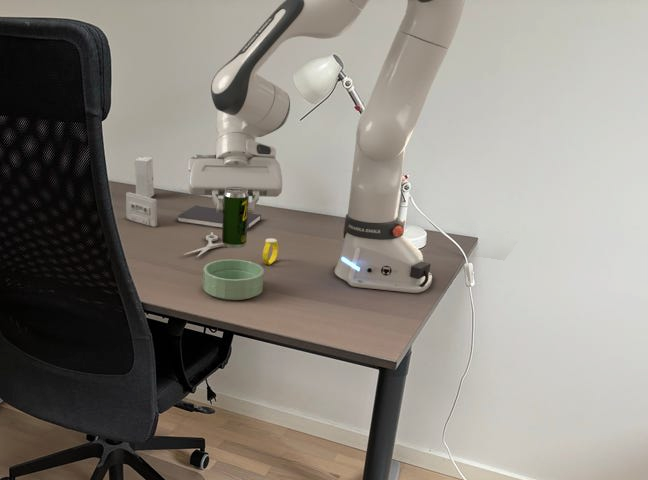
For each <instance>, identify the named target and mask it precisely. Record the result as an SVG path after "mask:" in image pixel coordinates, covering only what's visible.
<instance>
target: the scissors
mask: <svg viewBox="0 0 648 480" xmlns="http://www.w3.org/2000/svg"><path fill="white" fill-rule="evenodd" d="M218 239H219V238H218V235H216V234H214V232H210V234H207V235H205V240H206V241H207V245H205V246H203V247H200V248H197V249H194V250H191V251H189V252H186V253H184V254H182V255H183V256H185V255H188V254H193V253H196V252H199V251H200V253H198V255H197V256H196V258H198V257H200V256H201V255H202V254H204V253H206V252H207V251H209V250H212V249H215V248H219V247H225V246H224V245H223V242H222V243H221V242H220V243H213V242H215V241H216V242H217V241H218Z"/></svg>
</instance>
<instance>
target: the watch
mask: <svg viewBox="0 0 648 480" xmlns="http://www.w3.org/2000/svg"><path fill="white" fill-rule="evenodd" d="M264 243H265V245H264V246H263V251H262V262H263V263H264V264H265V265H267V266H271V264H273V263H274V262H276V260H277V258H278V253H279V243H278V240H277V239H276V238H272V237H271V238H270V237H269V238H266V239H265V241H264ZM271 247H272V252H271V256H270V258H269V253H270V249H271Z"/></svg>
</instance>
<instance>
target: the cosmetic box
mask: <svg viewBox="0 0 648 480" xmlns="http://www.w3.org/2000/svg"><path fill="white" fill-rule="evenodd" d="M153 159H154V158H153V157H151V156H139V157H137V158H136V159H134V177H135V194H138V195H141V196H145V197H149V198H152V197H154V195H155V189H154V188H155V187H154V186H155V185H154V162H153V161H154V160H153Z"/></svg>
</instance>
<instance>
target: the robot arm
mask: <svg viewBox="0 0 648 480" xmlns="http://www.w3.org/2000/svg"><path fill="white" fill-rule="evenodd" d="M369 2H370V0H284V1H282V3H280V5H278V7H277V8H276V9H275V10H274V11H273V12H272V13H271V15H270V16H269V17H268V18H267V19H266V20H265V21H264V22H263V24H261V26H260V27H259V28H258V29H257V30H256V32H255V33H254V34H252V36H251V37H250V38H249V39H248V41H246V43H245V44H244V45H243V46H242V48H241V49H240V50H239V51H238V52H237V53H236V54H235V55H234V56H233V57H232V58H231V59H230V60H228V62H226V63H225V64H224V65H223V66H222V67H221V68H220V69H218V71H217V72H216V73H215V75H214V76H213V79H212V80H211V84H210V95H211V100H212V103H213V105H214V107H215V109H216V113H215V115H216V116H215V129H216V130H215V131H216V134H217V137H216V140H215V154H195V156H192V157H191V158H190V159H189V160H188V163H187V164H188V165H187V168H188V172H189V173H190V174H189V183H188V185H189V186H188V187H189V188H188V189H189V190H188V191H189V192H190V194H191V195H193V196H211V201H212V202H213V204H214V205H215V207H216V209H217V213H223V201H220V199H219V197H224V192H225V189H226V188H228V187H242V188H246V189H248V194H249V197H251V198H252V199H251V200H252V201H251V202H248V213H252V214H255V206H256V205H257V203H258V201H259V199H260V197H268V198H269V197H270V198H271V197H272V198H277V197H279V196H280V195H281V194H282V190H283V175H282V169H281V164H280V162H279V161H278V160H277V150H276V147H274V146H271V145H268V144H264V143H261V142H258V141H256V139H257V138H262V137H264V136H267V135H270V134H271V133H273V132H276V131H277V130H279V129H280V128H281V127H283V126H284V125H285V124H286V122H287V121H288V117H289V115H290V111H291V99H290V96H289V94H288V93H287V92H286V91H285V90H284V89H282V88H281V87H279V86H277V84H274V83H272V82H271V81H268V80H267V79H266V78H265V77H263V76H261V75H259V74H258V71H260V69H261V68H262V67H263V66H264V65H265V63H266V62H267V61H268V60H269V59H270V58H271V56H273V54H274V53H275V52H276V51H277V49H279V48H280V46H281V45H282V44H283V43H285V42H286V41H288V40H290V39H292V38H298V37H307V38H313V39H319V40H320V39H321V40H325V39H328V40H329V39H333V38H338V37H339V36H342V35H344V34H345V33H346V32H347V31H349V29H350V28H351V27H352V26H353V25H354V24H355V22H356V21H357V19H358V18H359V16H360V15H361V14H362V12H363V11H364V9H365V8H366V6H367V5H368V3H369ZM464 7H465V0H407V4H406V10H405V14H404V16H403V18H402V20H401V22H400V25H399V27H398V30H397V32H396V34H395V36H394V38H393V41H392V43H391V46H390V48H389V50H388V53H387V55H386V57H385V60H384V61H383V64H382V67H381V69H380V72H379V74H378V77H377V79H376V82H375V84H374V87H373V89H372V92H371V94H370V96H369V99H368V101H367V104H366V106H365V108H364V109H363V111H362V112H361V113H360V115H359V118H358V121H357V126H356V135H355V147H354V156H353V163H352V172H351V181H350V189H349V190H350V191H349V192H350V193H349V197H348V207H347V213H346V214H345V217H344V222H343V230H342V232H343V243H342V246H341V252H340V254H339V258H338V262H337V263H336V266H335V269H334V274H335V276H337V277H338V278H339V279H341V280H342V281H343V280H344V281H345V282H347V284H348V285H349V286H351V287H353V288H354V287H355V288H362V289H372V290H374V289H375V290H381V291H382V290H383V291H390V292H392V291H393V292H400V293H401V292H402V293H411V294H412V293H413V294H418V293H422V292H425V291H426V290H427V289H429V288H430V287H431V285H432V283H433V276H432V275H433V274H432V273H431V272H430V269H431V263H430V262H425V261H424V256H423V253H422V251H421V250H420V249H419V248H418V247H416V245H414V244H413V243H412V242H411V241H410V240H409V239H408V238H407V237H406V236H404V233H405V226H406V225H405V224H406V220H405V219H404V220H403V221H402V220H401V219H400V218H399V217H398V209H399V203H400V196H401V189H402V182H403V181H402V179H403V171H404V162H405V161H404V160H405V154H406V153H405V151H406V147H407V145H408V144H409V141H410V139H411V137H412V134H413V132H414V130H415V128H416V125H417V123H418V120H419V118H420V115H421V114H422V110H423V108H424V105H425V103H426V101H427V98H428V95H429V94H430V91H431V88H432V86H433V83H434V81H435V79H436V77H437V75H438V73H439V71H440V69H441V66H442V64H443V62H444V60H445V57H446V56H447V53H448V51H449V49H450V47H451V44H452V42H453V40H454V37H455V35H456V33H457V30H458V27H459V24H460V21H461V18H462V14H463V10H464Z"/></svg>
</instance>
